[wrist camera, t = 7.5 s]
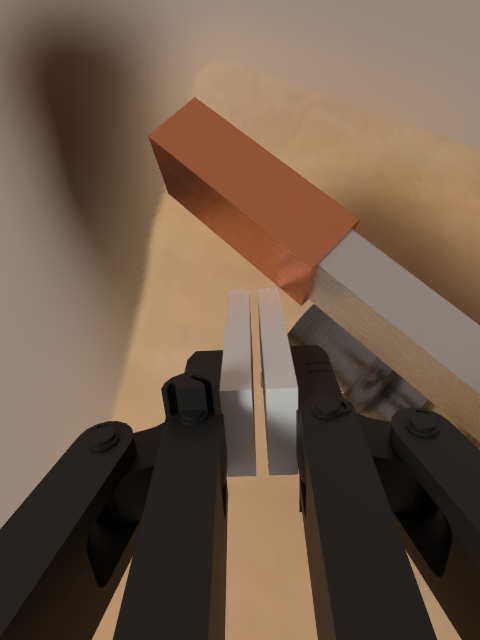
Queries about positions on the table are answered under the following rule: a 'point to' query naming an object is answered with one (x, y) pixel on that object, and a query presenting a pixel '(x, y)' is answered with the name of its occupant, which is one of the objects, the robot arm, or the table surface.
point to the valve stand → (361, 371)
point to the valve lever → (320, 256)
